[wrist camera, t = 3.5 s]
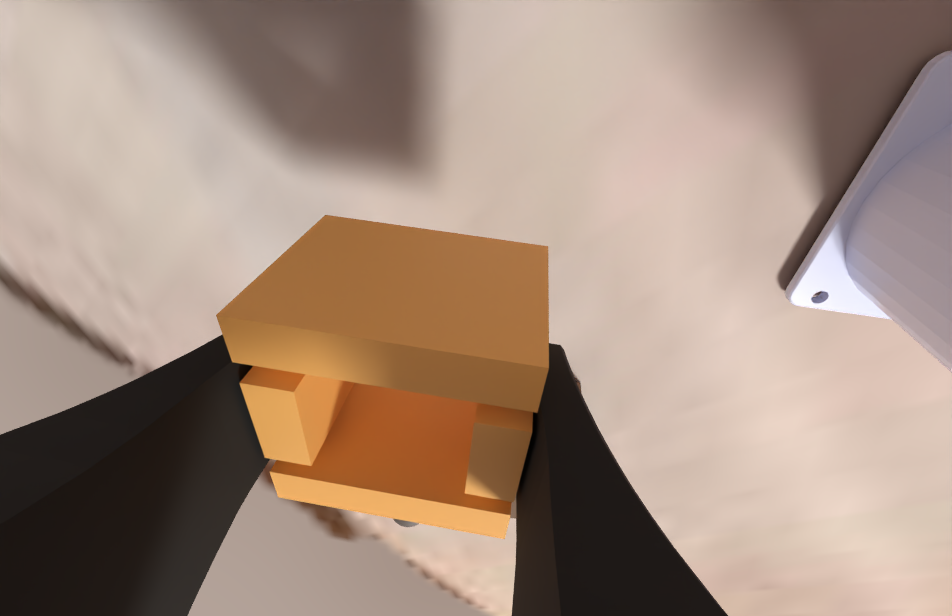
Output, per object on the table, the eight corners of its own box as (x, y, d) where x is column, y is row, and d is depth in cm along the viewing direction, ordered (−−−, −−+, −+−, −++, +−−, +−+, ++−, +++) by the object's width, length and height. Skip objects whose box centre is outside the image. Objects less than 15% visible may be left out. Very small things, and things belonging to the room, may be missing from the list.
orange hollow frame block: (548, 246, 9) (549, 367, 6) (515, 402, 13) (504, 539, 9) (325, 214, 10) (215, 315, 7) (346, 374, 13) (278, 497, 10)
